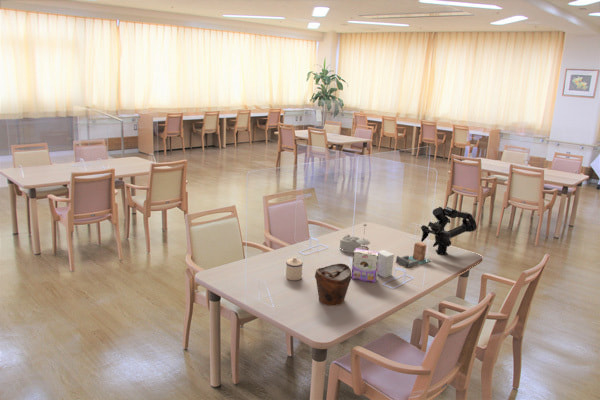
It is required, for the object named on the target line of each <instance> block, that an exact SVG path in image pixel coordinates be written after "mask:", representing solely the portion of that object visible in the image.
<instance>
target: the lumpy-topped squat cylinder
mask: <svg viewBox="0 0 600 400" xmlns="http://www.w3.org/2000/svg"><path fill="white" fill-rule="evenodd" d="M358 239H361V238H360V237H359V236H357V235H355V234H353V235H351V234H345V235H344V236H342V237H340V241H339V251H341V252H344V253H353V252H354V250H355V249H356V248H357V247H358V246H362V245H361V244H358V243H357V240H358ZM340 248H341V249H340ZM342 249H343V250H342Z"/></svg>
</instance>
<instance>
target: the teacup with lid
mask: <svg viewBox="0 0 600 400" xmlns="http://www.w3.org/2000/svg"><path fill="white" fill-rule="evenodd" d="M285 263H286V265H285V266H286V269H285V270H286V271H285V277H286V279H287V280H290V281H298V280H301V279H302V274H303V261H302V260H301V259H298V258H297V257H296V256H293V257H292V258H290V259H287V260H286V262H285Z"/></svg>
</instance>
